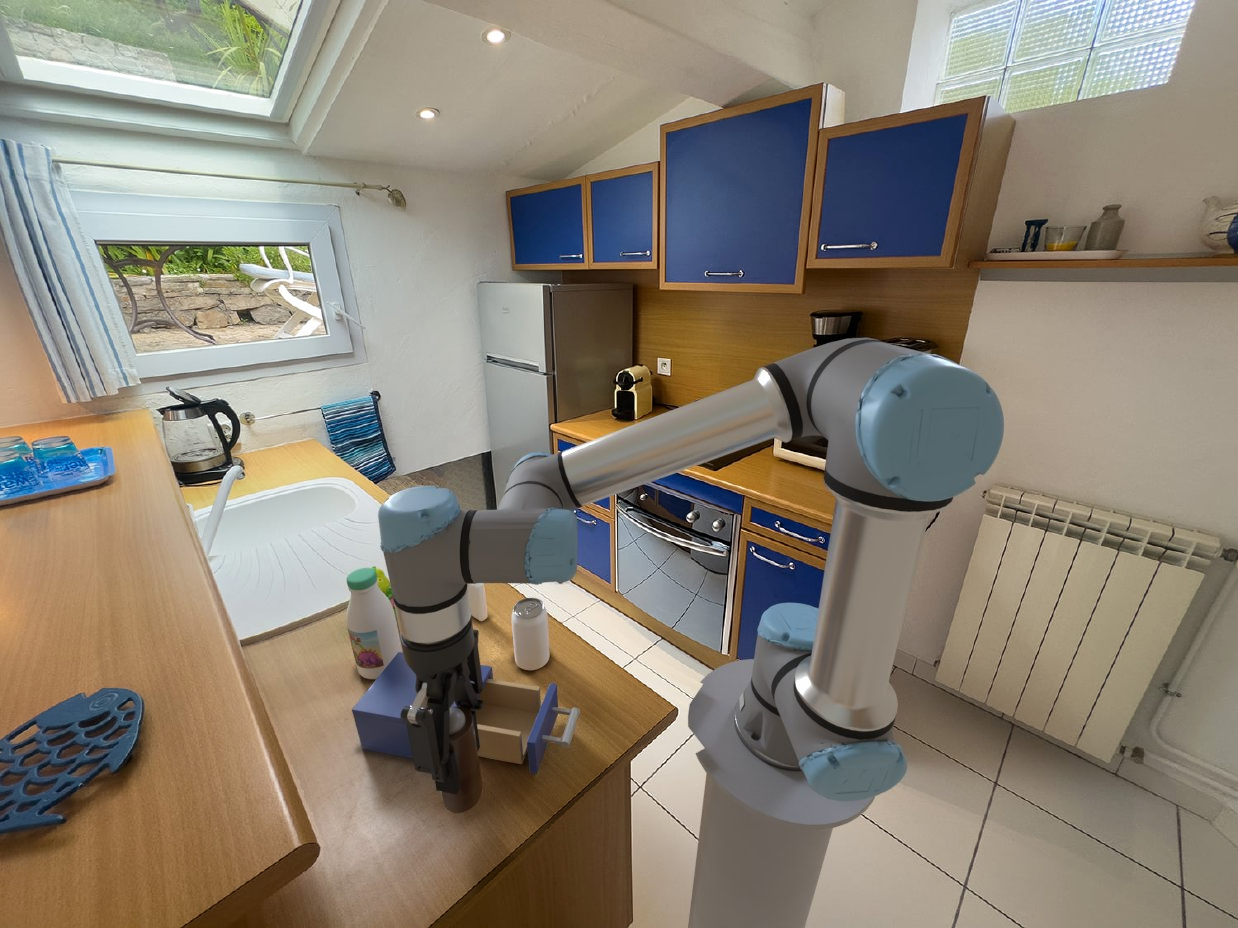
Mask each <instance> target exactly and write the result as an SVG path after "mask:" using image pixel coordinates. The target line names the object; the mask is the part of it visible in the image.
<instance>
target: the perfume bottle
mask: <svg viewBox="0 0 1238 928" xmlns="http://www.w3.org/2000/svg"><path fill="white" fill-rule="evenodd" d="M467 586H468V592H469V599H470V606H471V617H473V618H474V619H476V620H478V621H479V622H483V621H486V619H488V616H489V615H488V607H487V598H486V589H485V583H476V584H467Z"/></svg>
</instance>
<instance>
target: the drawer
mask: <svg viewBox="0 0 1238 928" xmlns="http://www.w3.org/2000/svg"><path fill="white" fill-rule="evenodd" d="M558 696H559V695H558V684H556V683H549V685H548V687H547V690H546V692H545V694H544V698H543V700H542V697H541V686H537V685H530V684H524V683H519V682H511V681H506V680H500V679H494V678H493V679H487V681H486V683H485V685H484V687H483V691H482V693H481V694H479V696H478V698H477V699H478V700H483V706H482V708H481V710H477V709H475V711H476V720H477V727H478V735H479V743H480V748H479V750H478V757H482V758H487V759H492V760H497V761H502V762H509V763H513V764H518V765H523V764H524V763H523V762H524V760H525V758H526V755H527V760H528V771H529V774H533V775H538V773H539V770H540V767H541V764H542V762H543V758H544V757H545V753H546V750H547V747H548V745H549V744H548V743H552V744H556V745H560V747H561V748H563V749H569V748H570V746H571V743H572V739H573V736H574V733H575V730H576V726H577V722H578V720H579V716H580V713H581V711H580V709H579V708H578V707H574V706H573V707H572V708H571V709H568V708H564V707H563V708H562V707H559V701H558V699H559V697H558ZM558 715H566V716H568V718H567V722H566V725H565V728H564V730H563V734H562V736H561V737H557V736H552V733H553V731H554V727H555V724H556V723H557V722H556V721H557V718H558V717H559V716H558Z"/></svg>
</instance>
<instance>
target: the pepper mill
mask: <svg viewBox="0 0 1238 928" xmlns="http://www.w3.org/2000/svg"><path fill="white" fill-rule="evenodd" d="M449 751H452V752H454V756H455V762H456V769H457V775H458V781H459V787H460V789H459V791H458V793H457V795H456V794H451V793H446V792H441V797H442V803H443V805H444V806H443V807H444V808H445V809H446V810H447V811H448V812H450V813H453V814H463V813H466V812H468V811H471V810H472V809H473V808H474V807H475V806H476V805H477V804H478V803H479V802H480V800H481V798H482V796H483V780H482V773H481V767H480V766H481V765H480V757H479V756H478V751H477V743H476V736H475V728H474V721H473V715H472V713H471V712H470V711H469V710H468V709H466V708H464V707H459V706H456V707H451V708H450V723H449Z"/></svg>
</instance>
